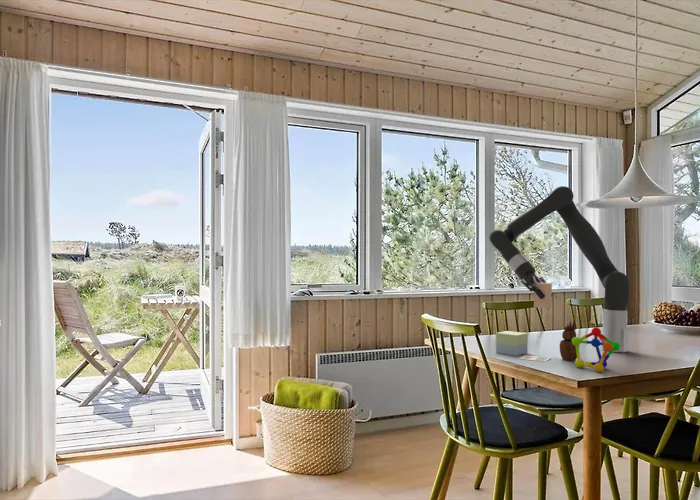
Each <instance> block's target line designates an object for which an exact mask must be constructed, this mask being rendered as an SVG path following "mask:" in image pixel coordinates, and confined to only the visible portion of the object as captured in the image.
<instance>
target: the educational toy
mask: <svg viewBox="0 0 700 500" xmlns="http://www.w3.org/2000/svg"><path fill="white" fill-rule="evenodd" d="M591 336H594V337H593V338H592V339H591V340H586V339H588V338H589V337H591ZM606 341H607V342H606ZM572 344H573V345H575V347H576V353H577V358H576V360H574V365H575V367H577V368H578V369H581V368H583V367H587V368H590V369H591V368H592V369H594V371H596V373H602V372H604V369H605V368H606V367H607V364H608V362H607V361H608V359H609V357H611V355H612V354H613V353H614V352H613V351H617V350H619V348H620V344H619V343H618V342H611V341H610V340H609V339H607V338H606V337H605V336H604V335H603V333H602V330H601V328H599V327H597V326H596V327H593V328H592V329H591V332H589V333H587V334H584V335H583V336H581V337H578V336H576V337H574V338H572ZM580 344H587V345H588V344H589V345H591V346H592V347H594V348H595V349H596V354H597V356H598V360H597V361H596V362H595V361H594V362H593V361H589V362H588V361H584V360H583V359H581V355H580V348H579V347H580ZM578 345H579V347H578ZM602 345H603V346H602ZM600 346H602V350H603V349H604V350H603V353H602V352H601V350H600V348H599V347H600ZM601 353H602V354H601Z"/></svg>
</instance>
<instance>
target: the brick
mask: <svg viewBox="0 0 700 500" xmlns="http://www.w3.org/2000/svg"><path fill="white" fill-rule="evenodd" d="M537 286H538V287H539V289H540V290H541V291H542V293H543V294H544V295H545V297H544V298H543V299H540V298H539V297H538V295H537V294H536V293H534V292H533V293H534V294H533V308H539V309H551V308H552V297H551V294H553V293H552V288H553V287H552V286H553V285H552V283H550V282H546V283H537Z"/></svg>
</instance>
